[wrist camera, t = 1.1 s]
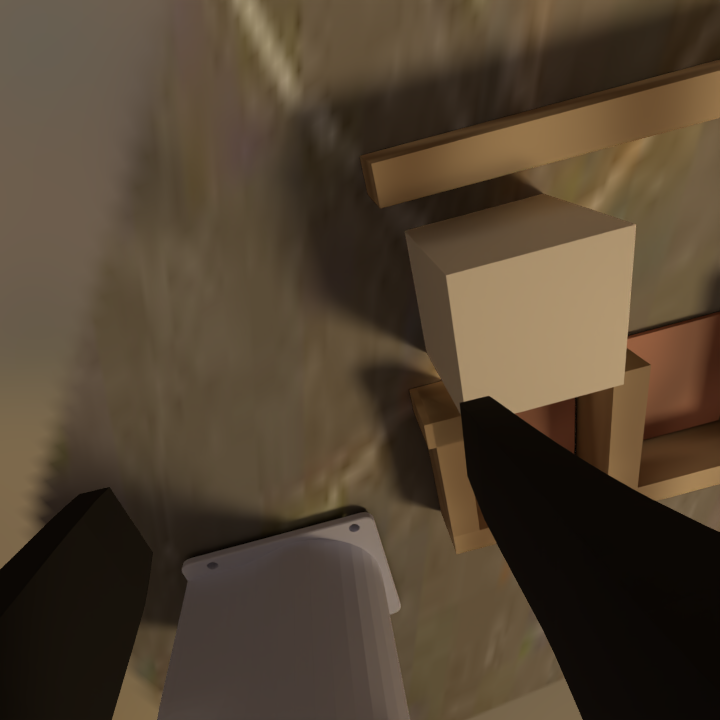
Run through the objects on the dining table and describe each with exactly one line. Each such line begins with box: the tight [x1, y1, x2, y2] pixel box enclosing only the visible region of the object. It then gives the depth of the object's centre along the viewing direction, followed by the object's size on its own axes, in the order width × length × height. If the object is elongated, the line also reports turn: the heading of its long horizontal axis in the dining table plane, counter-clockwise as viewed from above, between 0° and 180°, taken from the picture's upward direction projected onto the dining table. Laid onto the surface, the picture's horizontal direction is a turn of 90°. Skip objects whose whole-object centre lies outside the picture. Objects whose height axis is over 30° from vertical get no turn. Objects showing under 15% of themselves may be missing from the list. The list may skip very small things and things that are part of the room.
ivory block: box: [405, 194, 636, 414], centre depth 15 cm, size 5×5×5 cm
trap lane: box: [360, 60, 720, 554], centre depth 17 cm, size 21×17×3 cm
